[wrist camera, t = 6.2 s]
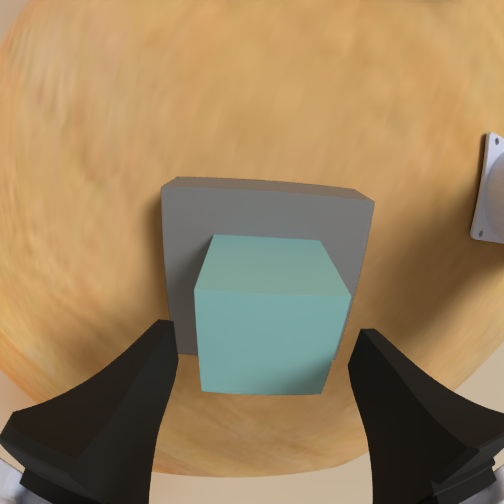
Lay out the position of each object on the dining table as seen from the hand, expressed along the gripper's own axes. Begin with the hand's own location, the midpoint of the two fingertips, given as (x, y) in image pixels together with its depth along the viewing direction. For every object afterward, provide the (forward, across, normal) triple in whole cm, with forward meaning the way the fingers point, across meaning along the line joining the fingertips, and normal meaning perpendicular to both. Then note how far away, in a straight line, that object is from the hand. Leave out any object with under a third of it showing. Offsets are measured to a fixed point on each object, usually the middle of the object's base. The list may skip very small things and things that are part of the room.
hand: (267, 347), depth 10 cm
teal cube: (+4, 0, 0) cm, 4 cm away
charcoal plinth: (+7, 0, 0) cm, 7 cm away
